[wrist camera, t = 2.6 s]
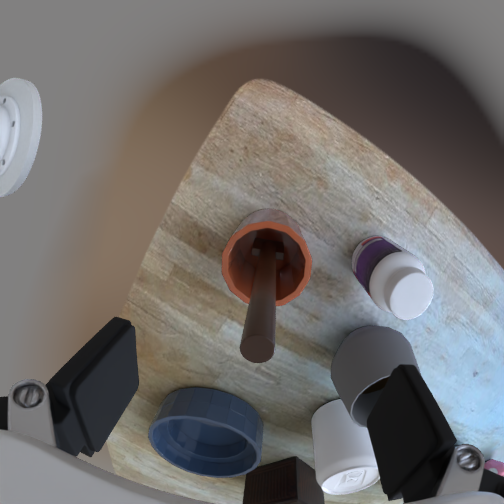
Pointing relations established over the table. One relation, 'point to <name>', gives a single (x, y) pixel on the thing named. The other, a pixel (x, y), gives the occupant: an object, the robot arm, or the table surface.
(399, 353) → the cup
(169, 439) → the bowl
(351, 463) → the beverage can
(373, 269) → the pill bottle
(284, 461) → the manual coffee grinder
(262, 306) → the stirring stick
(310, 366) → the table surface
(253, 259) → the utensil pot
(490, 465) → the apple
